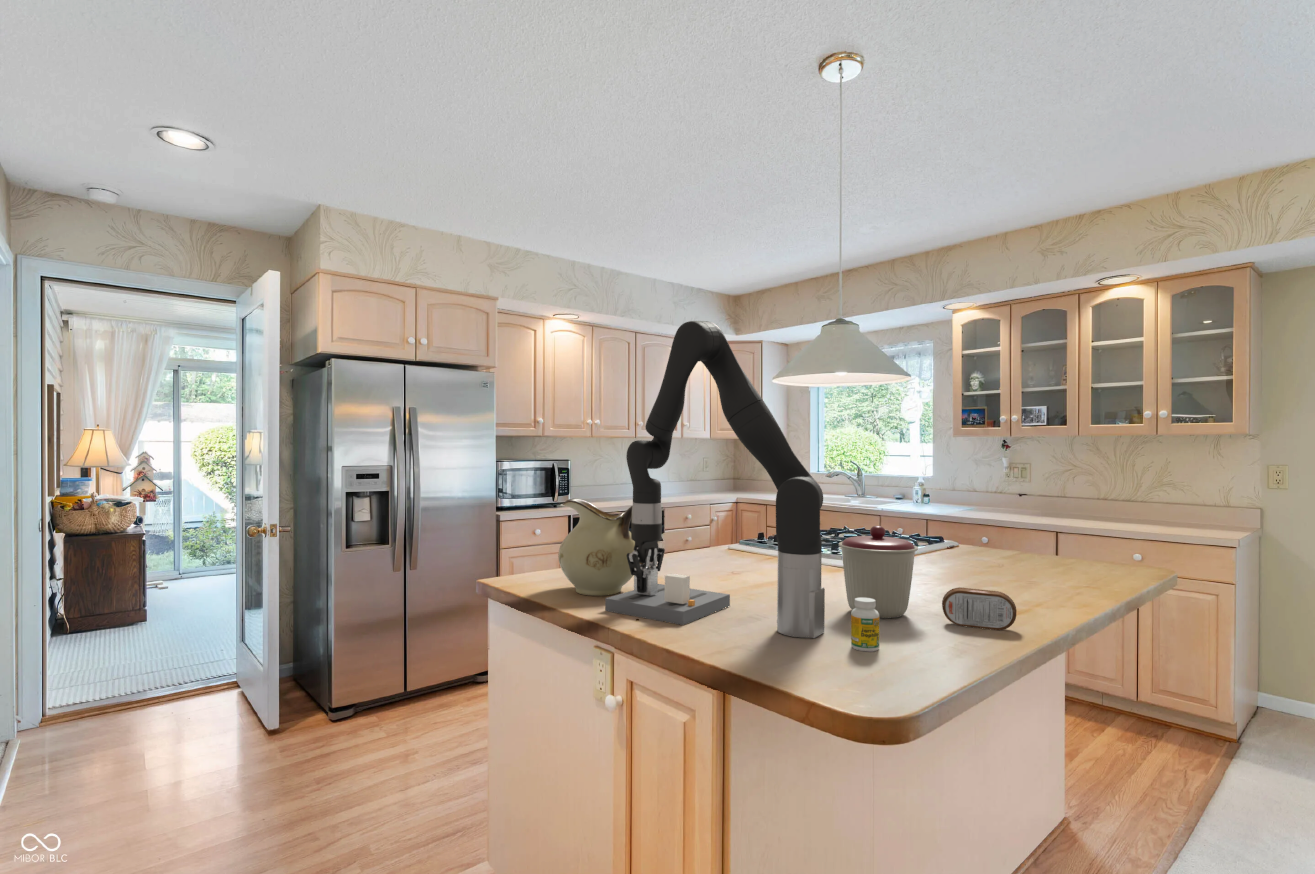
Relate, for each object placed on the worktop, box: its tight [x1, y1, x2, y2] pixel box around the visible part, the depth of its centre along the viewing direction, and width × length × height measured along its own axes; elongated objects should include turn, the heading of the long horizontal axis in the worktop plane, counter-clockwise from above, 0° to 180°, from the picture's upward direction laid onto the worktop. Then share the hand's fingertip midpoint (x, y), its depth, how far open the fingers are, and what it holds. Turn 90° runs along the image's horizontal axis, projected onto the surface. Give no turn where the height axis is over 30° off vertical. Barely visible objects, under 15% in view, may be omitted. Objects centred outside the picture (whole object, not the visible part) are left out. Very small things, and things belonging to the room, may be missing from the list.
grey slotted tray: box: [604, 583, 731, 626], centre depth 161 cm, size 22×22×4 cm
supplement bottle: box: [850, 598, 880, 653], centre depth 131 cm, size 5×5×10 cm
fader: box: [664, 573, 691, 604], centre depth 154 cm, size 5×3×6 cm, turn 56°
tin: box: [941, 586, 1017, 631], centre depth 147 cm, size 15×3×8 cm, turn 65°
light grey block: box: [633, 567, 659, 596], centre depth 163 cm, size 5×3×6 cm, turn 56°
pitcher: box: [558, 497, 643, 597], centre depth 181 cm, size 22×24×25 cm
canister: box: [838, 525, 919, 619], centre depth 159 cm, size 18×18×21 cm
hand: (645, 590), depth 163 cm, fingers closed on light grey block, 3 cm apart
